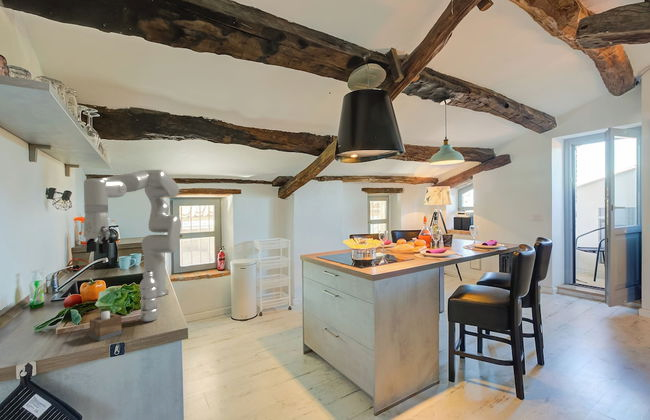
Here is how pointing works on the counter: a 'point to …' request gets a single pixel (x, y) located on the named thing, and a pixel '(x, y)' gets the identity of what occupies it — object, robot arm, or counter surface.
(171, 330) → the counter surface
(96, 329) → the wooden block with hole
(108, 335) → the post base
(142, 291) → the plastic bottle
